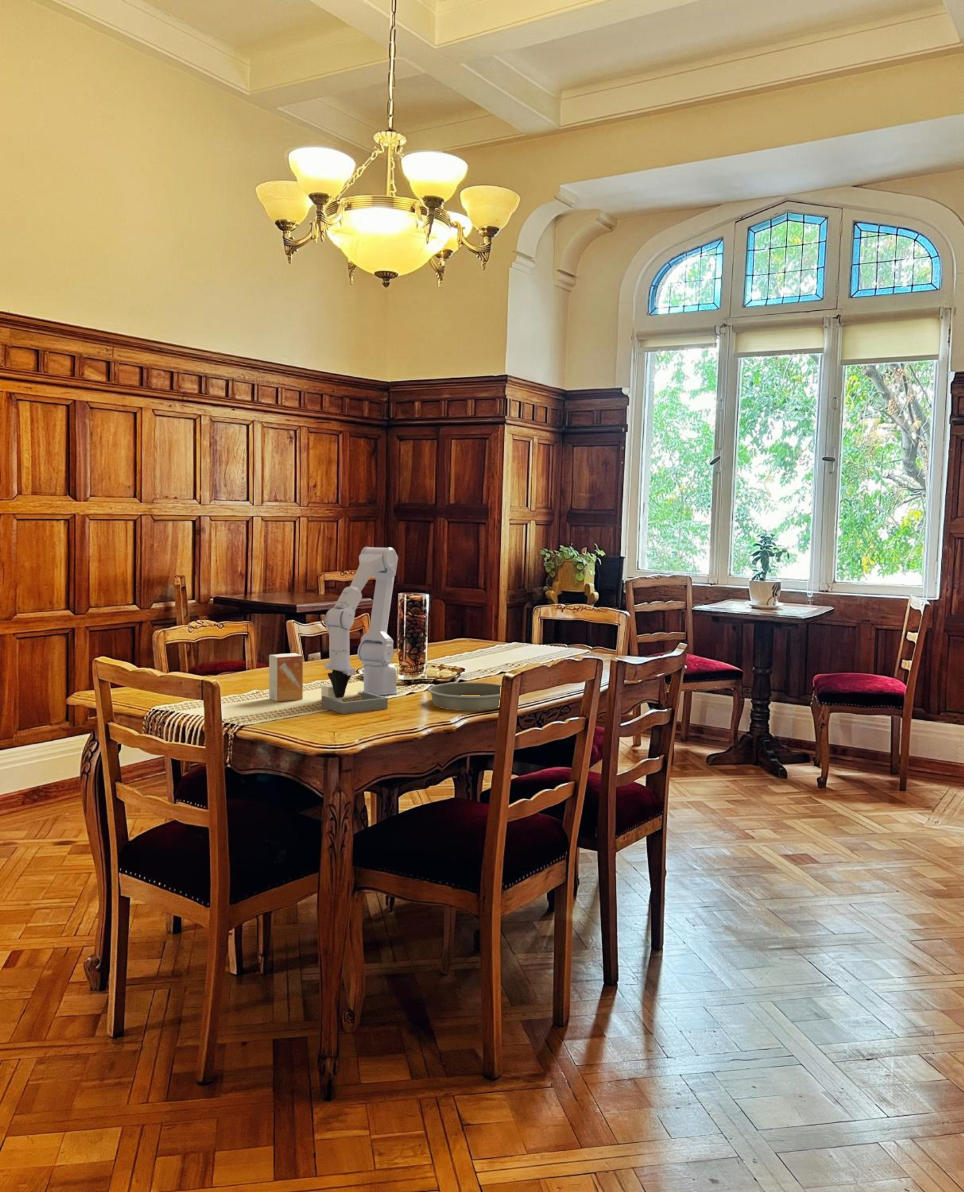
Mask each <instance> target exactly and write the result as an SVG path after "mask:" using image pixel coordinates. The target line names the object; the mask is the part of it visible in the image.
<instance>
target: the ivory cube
mask: <svg viewBox="0 0 964 1192" xmlns="http://www.w3.org/2000/svg"><path fill="white" fill-rule="evenodd" d="M320 688H321V690H320V691H321V692H320V693H321V701H322V696H327V697H330V698H333V699H336V700H339V701H342V702H344V701H343V698H344V697H342V698H336V697H335V694H334V690H333V686H332V683H329V684H321V687H320Z"/></svg>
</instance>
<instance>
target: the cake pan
mask: <svg viewBox="0 0 964 1192" xmlns="http://www.w3.org/2000/svg"><path fill="white" fill-rule="evenodd" d="M501 685H502V684H500V683H499V684H498V683H489V682H472V681H471V682H469V681H468V682H465V681H463V682H462V681H461V682H447V683H439V684H434V685H431V686H429V687H428V688H427V692H428V693H430V694H431V699H432V704H433V705H434V706H435V705H436V707H437V706H438V708H441V707H443V708H442V709H445V708H448V709H447V710H453V709H459V710H458V711H480V710H479V709H490V710H495V708H497V709H499V708H498V706H499V700H500V687H501ZM461 695H480V696H461Z"/></svg>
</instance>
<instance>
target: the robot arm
mask: <svg viewBox="0 0 964 1192" xmlns="http://www.w3.org/2000/svg"><path fill="white" fill-rule="evenodd" d="M398 560H399V556H398V554H397V552H396V550H395V549H394V548H393V547H375V546H374V547H370V546H365V547H363V548H362V549H361V552H360V554H359V556H358V561H359V565H358V568H357V570H356V572H355V575H354V576H353V578H352V581H351V583H350V585H349V586H346V587H345V588H344V589H343V590H342V591H341V594H340V596H339V597H338V599H337V601H336V602H335V605H334V607H332V608H330V609H328V611H327V612H326V614H325V618H324V624H325V626H326V629H327V634H328V635H329V638H328V639H329V640H328V643H329V645H328V646H329V647H328V649H329V651H328V652H329V654H328V655H329V659H328V660H329V662H324V670H330V671H331V672H328V673H327V677H328V678H329V680H330V684H332V686H333V690H334V694H335V697H336V698H342V697H343V698H344V697H345V694H346V689H347V686H348V684H349V681H350V679H351V677H352V676H355V675H356V668H354V667H353V666H352V665H351V663H350V662H351V661H350V656H351V655H350V650H351V649H350V645H351V644H350V643H351V642H350V629H351V628H352V626H353V625H354V623H355V615H356V610H357V608H358V605H359V604H360V602H361V601H362V599H363V594H362V591H363V589H364V588H365V586H366V584H367V583H368V581H369V580H370V579H371V576H373V578H374V579H375V584H374V585H375V586H374V592H373V601H372V608H371V616H370V621H369V630H368V631H367V632H366V633H365V634H363V635H362V636H361V638H360V644H359V645H358V648H357V657H358V659H359V661H360V662H361V665H363V690H358V691H357V692H358V693H359V694H361V695H362V692H369V693H372V694H376V695H379V696H386V695H394V694H396V695H397V694H398V693H399V692H398V691H397V670H396V667H395V665H394V664H393V663H391V662H392V660H393V659H394V655H395V654H394V653H395V652H394V651H395V650H394V640H393V638H392V637H391V636H390V635H389V634H388V626H389V625H388V624H389V619H390V618H389V617H390V611H391V604H392V596H393V590H394V582H395V576H396V575H397V568H398Z"/></svg>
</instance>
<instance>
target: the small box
mask: <svg viewBox="0 0 964 1192" xmlns="http://www.w3.org/2000/svg"><path fill="white" fill-rule="evenodd" d="M303 660H304V656H303V655H301V654H299V653H296V652H292V653H278V654H269V655H268V667H269V668H268V670H269V671H268V674H269V675H268V677H269V678H268V679H269V680H268V686H269V688H268V691H269V692H268V693H269V695H268V696H269V699H270V700H273V701H275V702H277V703H278V702H285V701H287V702H288V701H298V700H300V701H301V699H302V700H303V699H304V698H303V697H304V696H303V695H304V693H303V692H304V691H303V688H304V686H303V682H304V681H303V680H304V679H303V678H304V677H303V675H304V674H303V673H304V671H303V669H304V667H303V666H304V664H303V662H304V661H303Z"/></svg>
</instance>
